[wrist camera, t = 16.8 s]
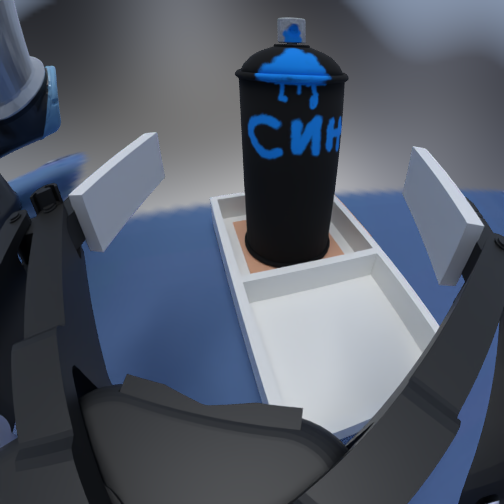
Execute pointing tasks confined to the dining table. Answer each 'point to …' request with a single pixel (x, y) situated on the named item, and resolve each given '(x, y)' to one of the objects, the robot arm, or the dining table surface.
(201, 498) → the robot arm
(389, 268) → the tray
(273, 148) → the aerosol can
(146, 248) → the dining table surface
